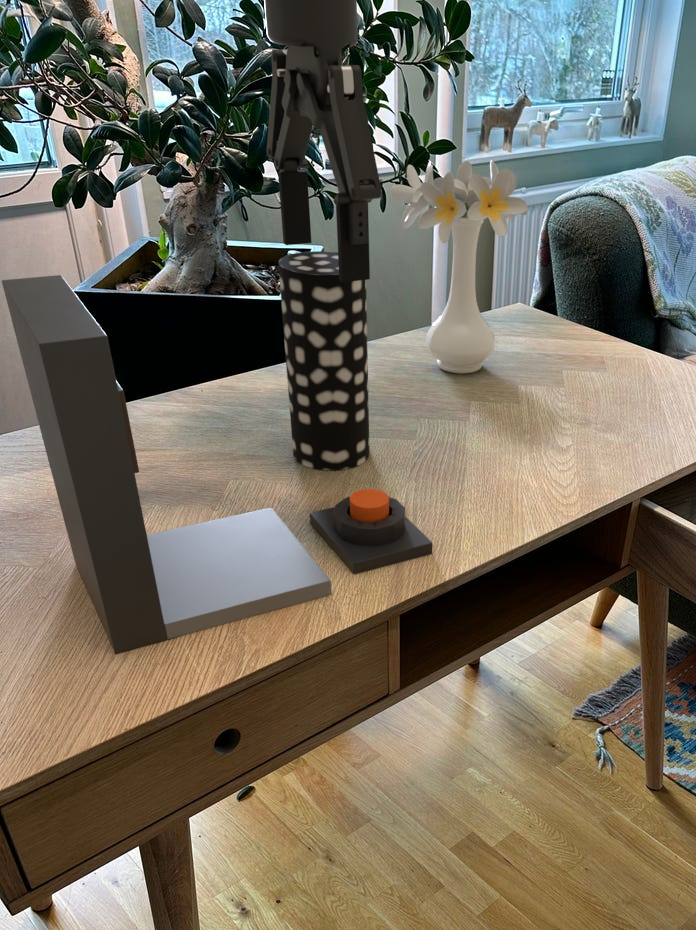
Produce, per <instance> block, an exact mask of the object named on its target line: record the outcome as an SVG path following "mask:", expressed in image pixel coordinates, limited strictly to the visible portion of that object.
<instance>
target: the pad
mask: <svg viewBox="0 0 696 930" xmlns="http://www.w3.org/2000/svg"><path fill="white" fill-rule="evenodd" d="M388 497H389V516H388V518H386V519H385V520H381V521H377V522H361V521H358V520H355V519H352V518H351V516H350V496H346V497H345V498H343V499H342V500H341V501H339V502H338V503H336V504H335V505H334V507H329V508H324V509H321V510H316V511H311V512H309V524H310V525H311V526H312V527H313V528H314V530H315V531H316V532H317V533H318V534H319V536H320V537H321V538H322V539H323V541H324V542H326V544H327V545H328V546H329V547H330V549H332V551H333V552H334V553H335V554H336V556H337V557H338V558H339V559H340V560H341V561H342V562H343V564H344V565H345V566H346V567H347V568H348V569H349V570H350V572H351V573H352V574H353V575H358V574H360V573H361V574H362V573H365V572H369V571H373V570H376V569H380V568H383V567H387V566H392V565H394V564H399V563H403V562H406V561H409V560H413V559H417V558H421V557H424V556H428V555H432V554H433V546H434V545H433V542H432V541H431V540H430V539H429V538H428V537H427V535H425V534H424V533H423V532H422V531H421V530H420V529H419V528H418V527H417V526H416V525H415V524H414V523H413V522H412V521H410V519H409V518H407V516H406V507H405V506H404V505H403V504H402V503H401V502H400V501H399V500H398V499H397V498H393V497H390V496H388Z"/></svg>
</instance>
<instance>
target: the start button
mask: <svg viewBox="0 0 696 930" xmlns="http://www.w3.org/2000/svg"><path fill="white" fill-rule="evenodd" d="M349 497H350V516H351V518H352V519H355V520H358V521H361V522H377V521H381V520H385V519H386V518H388V516H389V497H390V496H389V495H388V494H387V493H386V492H384V491H382V490H379V489H375V488H374V489H373V488H364V489H359V490H357V491H354V492H353V493H352V494H351V495H350V496H349Z"/></svg>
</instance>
